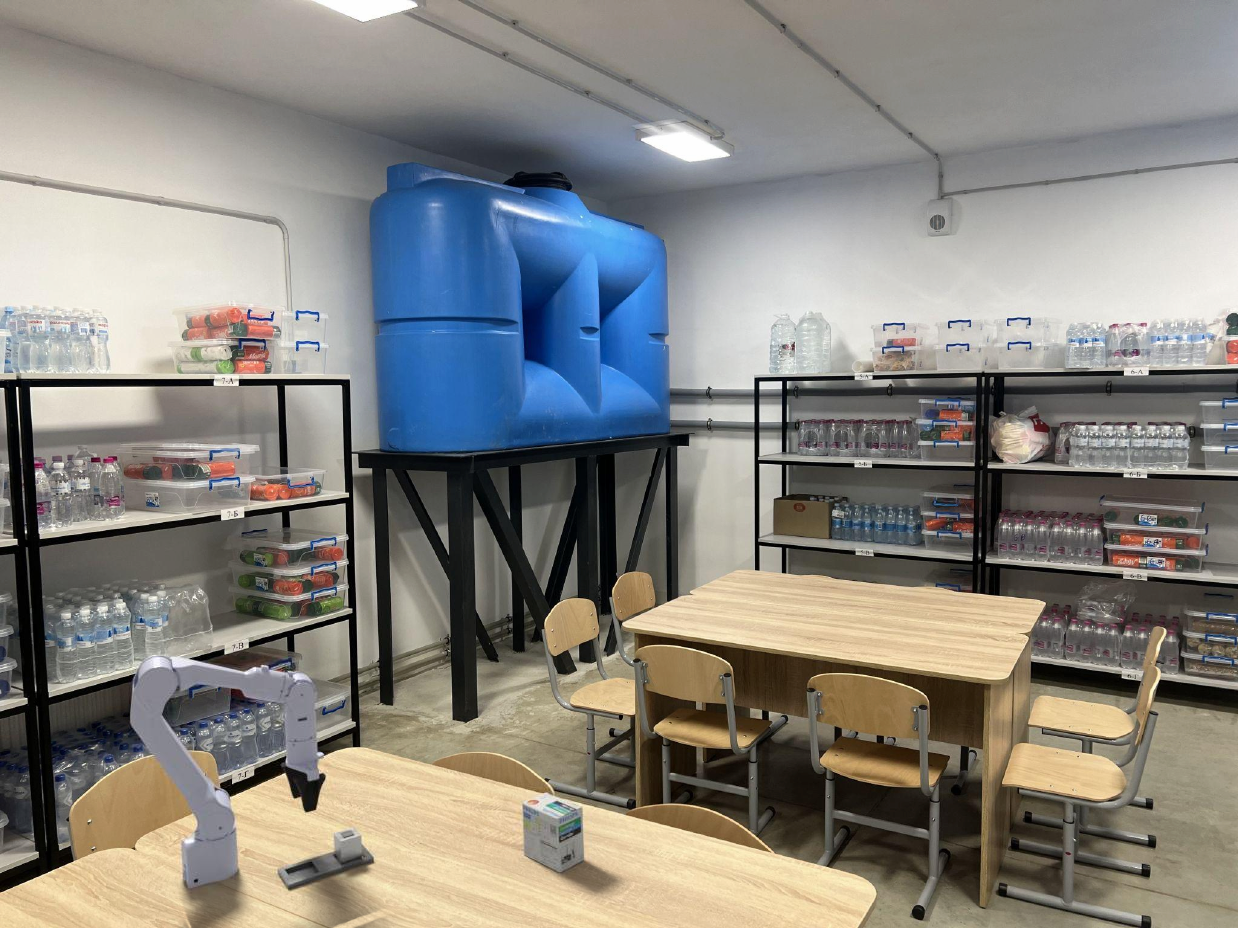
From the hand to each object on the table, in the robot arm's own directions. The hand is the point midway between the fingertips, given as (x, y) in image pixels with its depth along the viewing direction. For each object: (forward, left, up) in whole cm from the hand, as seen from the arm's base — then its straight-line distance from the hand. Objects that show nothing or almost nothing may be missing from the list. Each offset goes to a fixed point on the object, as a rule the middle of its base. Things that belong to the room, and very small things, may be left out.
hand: (304, 803), depth 177 cm
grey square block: (+5, -9, -9) cm, 14 cm away
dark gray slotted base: (+1, -9, -10) cm, 14 cm away
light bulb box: (+38, -31, -11) cm, 50 cm away
